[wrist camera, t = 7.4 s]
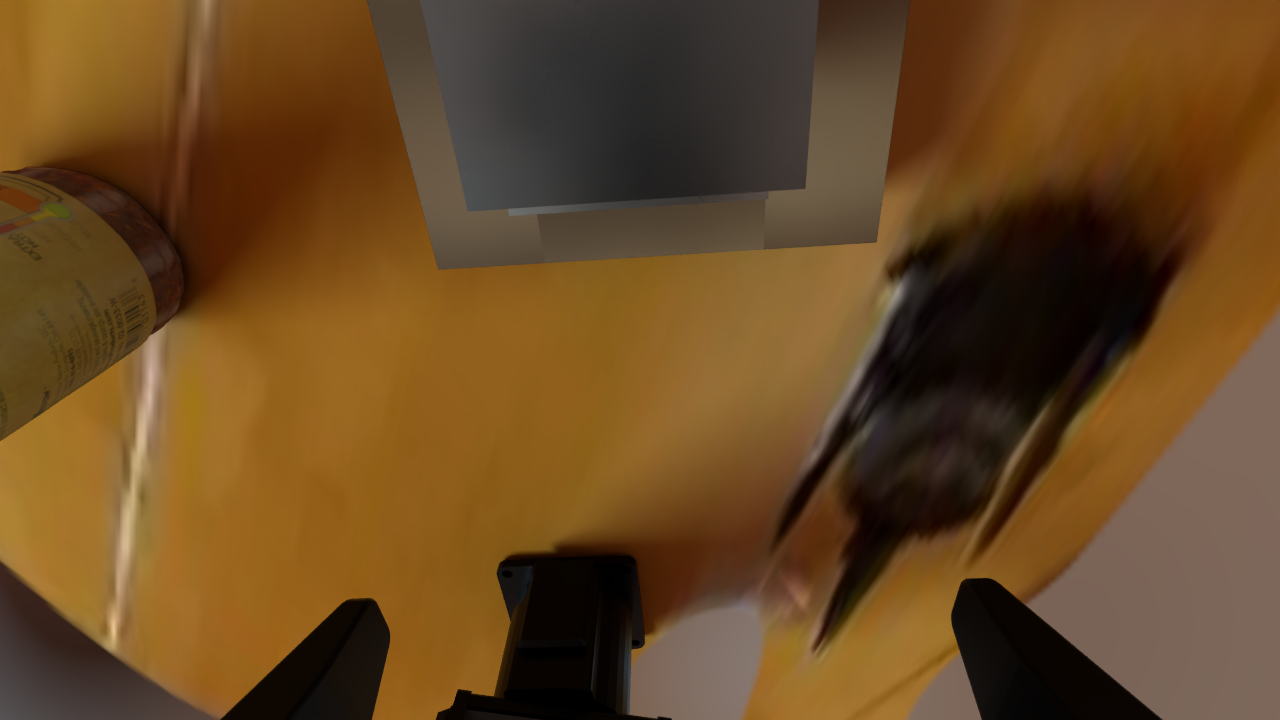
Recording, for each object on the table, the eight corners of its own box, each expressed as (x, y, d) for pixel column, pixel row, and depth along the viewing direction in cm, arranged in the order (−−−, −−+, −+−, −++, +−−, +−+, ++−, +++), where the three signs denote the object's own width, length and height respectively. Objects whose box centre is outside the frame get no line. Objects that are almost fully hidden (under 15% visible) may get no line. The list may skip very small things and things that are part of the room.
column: (729, 108, 14) (803, 214, 7) (559, 120, 14) (473, 236, 7) (730, -146, 12) (844, -357, 5) (526, -127, 12) (352, -301, 5)
